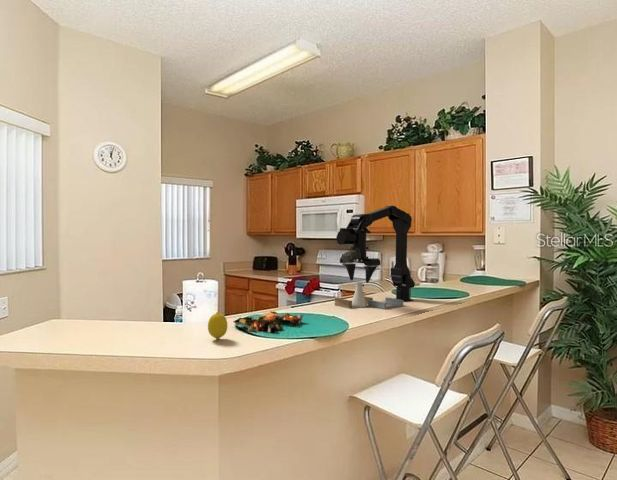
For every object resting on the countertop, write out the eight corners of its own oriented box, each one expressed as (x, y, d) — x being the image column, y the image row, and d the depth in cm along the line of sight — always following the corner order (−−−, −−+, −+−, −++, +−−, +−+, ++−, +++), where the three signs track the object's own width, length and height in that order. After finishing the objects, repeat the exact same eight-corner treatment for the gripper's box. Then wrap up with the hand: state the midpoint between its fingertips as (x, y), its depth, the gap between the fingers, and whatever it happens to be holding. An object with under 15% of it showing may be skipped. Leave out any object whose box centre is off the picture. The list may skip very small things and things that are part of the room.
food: (270, 337, 121) (270, 325, 121) (225, 329, 131) (225, 318, 131) (309, 323, 139) (309, 313, 139) (267, 317, 149) (267, 307, 149)
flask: (367, 304, 172) (367, 281, 172) (367, 308, 165) (368, 283, 165) (350, 304, 173) (350, 281, 173) (350, 307, 166) (350, 283, 165)
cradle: (386, 302, 177) (386, 297, 177) (403, 306, 170) (403, 300, 170) (368, 305, 169) (368, 299, 169) (384, 309, 162) (384, 303, 162)
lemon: (219, 336, 120) (219, 309, 120) (231, 339, 116) (231, 312, 116) (203, 339, 116) (203, 312, 116) (215, 343, 112) (215, 315, 112)
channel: (357, 301, 179) (357, 295, 179) (372, 304, 172) (372, 297, 172) (334, 305, 170) (334, 298, 170) (349, 308, 163) (349, 301, 163)
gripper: (330, 243, 170) (330, 280, 171) (362, 245, 156) (361, 285, 156) (349, 243, 177) (349, 278, 178) (381, 245, 163) (381, 283, 163)
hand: (359, 281), depth 169 cm, fingers open, 9 cm apart
